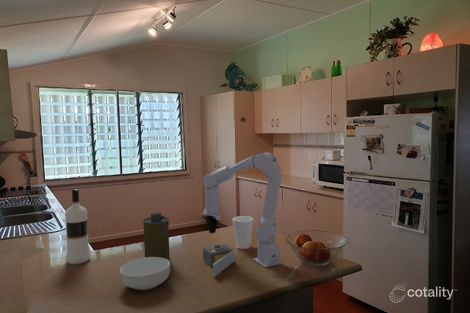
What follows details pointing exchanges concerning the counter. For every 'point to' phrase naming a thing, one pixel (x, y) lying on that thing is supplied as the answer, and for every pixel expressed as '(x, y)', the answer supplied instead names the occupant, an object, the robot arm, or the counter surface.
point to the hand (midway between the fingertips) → (212, 232)
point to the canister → (156, 236)
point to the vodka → (77, 232)
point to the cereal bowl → (145, 272)
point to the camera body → (215, 253)
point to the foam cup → (243, 231)
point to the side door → (223, 263)
